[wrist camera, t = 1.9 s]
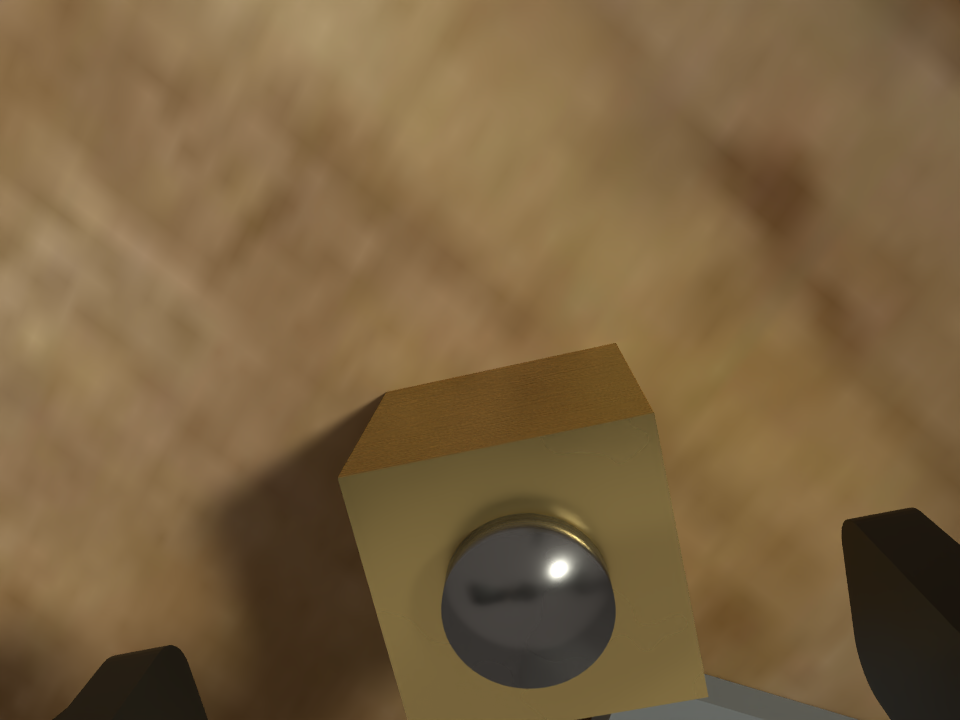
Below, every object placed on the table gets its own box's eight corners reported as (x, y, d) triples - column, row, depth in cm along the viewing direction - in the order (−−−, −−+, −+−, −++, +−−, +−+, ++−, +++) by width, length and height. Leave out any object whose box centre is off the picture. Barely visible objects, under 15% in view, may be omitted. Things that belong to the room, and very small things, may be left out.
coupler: (615, 342, 15) (661, 426, 11) (658, 555, 16) (718, 723, 12) (386, 391, 16) (327, 494, 11) (441, 595, 17) (410, 775, 12)
